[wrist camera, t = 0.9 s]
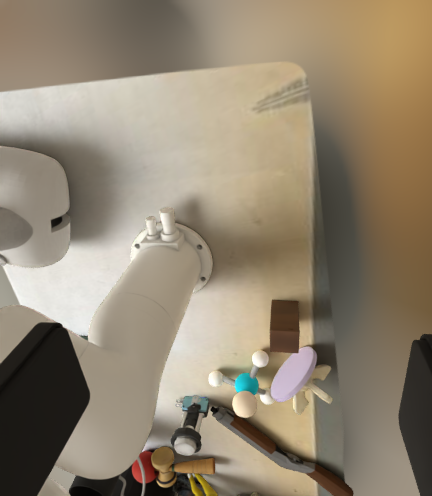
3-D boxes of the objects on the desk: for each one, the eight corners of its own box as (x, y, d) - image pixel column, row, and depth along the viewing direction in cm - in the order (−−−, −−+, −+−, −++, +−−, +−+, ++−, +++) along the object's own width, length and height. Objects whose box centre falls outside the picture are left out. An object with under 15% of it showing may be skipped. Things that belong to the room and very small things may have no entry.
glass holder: (112, 403, 76) (76, 477, 63) (169, 436, 78) (145, 514, 65) (95, 422, 80) (58, 495, 67) (150, 453, 82) (124, 529, 69)
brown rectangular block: (271, 299, 56) (269, 330, 50) (298, 300, 56) (299, 331, 50) (271, 320, 58) (270, 351, 52) (297, 321, 58) (298, 353, 52)
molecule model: (247, 335, 60) (241, 377, 53) (302, 372, 62) (304, 417, 55) (207, 372, 66) (196, 414, 59) (259, 405, 68) (255, 450, 60)
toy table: (305, 432, 55) (280, 411, 53) (282, 398, 63) (260, 379, 62) (350, 383, 55) (326, 361, 53) (321, 356, 63) (299, 336, 62)
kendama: (211, 439, 78) (130, 445, 80) (211, 472, 73) (124, 477, 75) (217, 455, 83) (139, 460, 84) (216, 487, 78) (134, 491, 79)
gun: (353, 486, 75) (327, 493, 78) (230, 393, 68) (207, 406, 71) (354, 498, 73) (327, 505, 76) (228, 404, 66) (205, 416, 69)
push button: (178, 407, 73) (164, 456, 64) (175, 388, 70) (159, 436, 61) (211, 410, 71) (201, 460, 63) (209, 391, 69) (198, 441, 60)
